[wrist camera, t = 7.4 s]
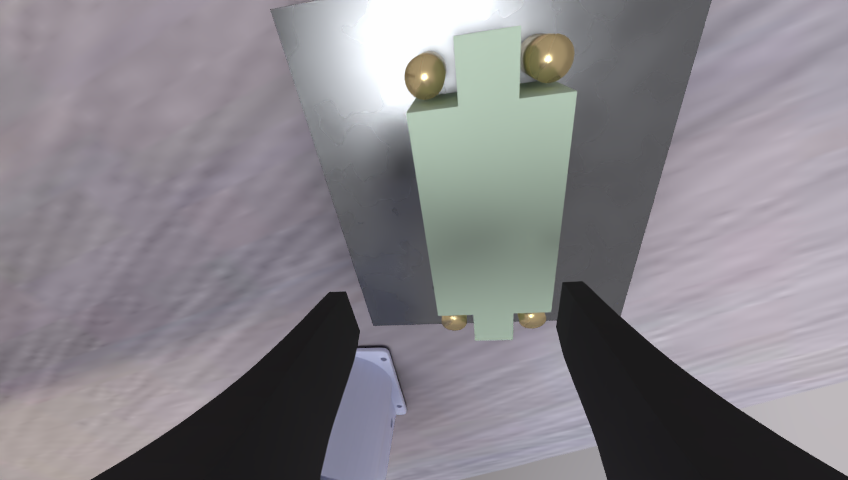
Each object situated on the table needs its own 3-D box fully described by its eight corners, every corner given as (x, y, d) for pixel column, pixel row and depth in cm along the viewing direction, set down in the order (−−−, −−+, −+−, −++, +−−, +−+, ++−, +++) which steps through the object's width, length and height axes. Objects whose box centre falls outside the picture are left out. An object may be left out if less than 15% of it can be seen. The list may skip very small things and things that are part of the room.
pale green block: (534, 296, 19) (548, 339, 16) (444, 300, 20) (442, 341, 17) (556, 19, 12) (586, 14, 9) (408, 43, 12) (395, 46, 10)
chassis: (609, 301, 21) (639, 352, 17) (377, 309, 23) (364, 356, 20) (703, -67, 11) (809, -111, 8) (287, 11, 13) (231, 4, 10)
